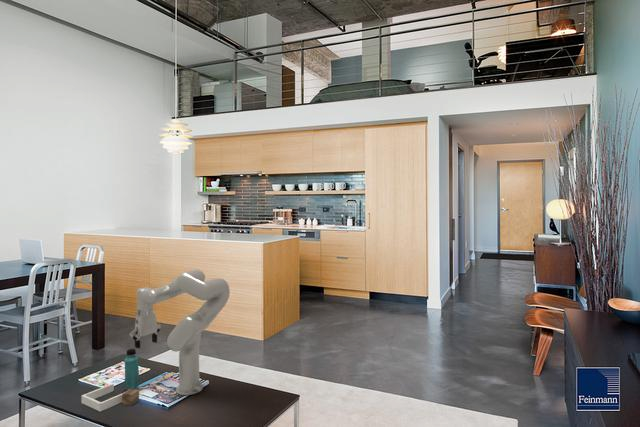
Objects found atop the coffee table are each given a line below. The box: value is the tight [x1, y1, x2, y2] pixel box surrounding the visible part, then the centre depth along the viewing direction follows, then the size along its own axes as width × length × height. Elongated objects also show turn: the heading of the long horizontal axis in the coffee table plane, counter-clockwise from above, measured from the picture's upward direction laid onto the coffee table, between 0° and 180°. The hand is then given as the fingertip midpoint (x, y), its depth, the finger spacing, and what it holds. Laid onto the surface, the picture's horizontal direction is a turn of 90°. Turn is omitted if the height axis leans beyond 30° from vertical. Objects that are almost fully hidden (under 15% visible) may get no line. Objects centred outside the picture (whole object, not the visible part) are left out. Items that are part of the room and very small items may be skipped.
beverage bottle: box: [124, 348, 140, 390], centre depth 206 cm, size 6×7×20 cm
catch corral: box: [80, 383, 124, 413], centre depth 195 cm, size 15×15×4 cm
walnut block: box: [121, 388, 140, 406], centre depth 194 cm, size 5×5×5 cm
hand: (146, 345), depth 215 cm, fingers open, 9 cm apart
